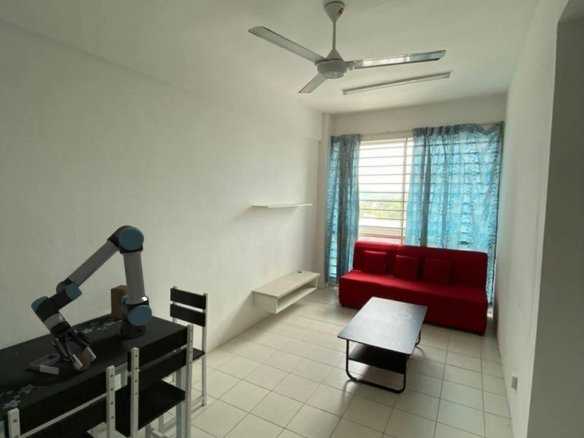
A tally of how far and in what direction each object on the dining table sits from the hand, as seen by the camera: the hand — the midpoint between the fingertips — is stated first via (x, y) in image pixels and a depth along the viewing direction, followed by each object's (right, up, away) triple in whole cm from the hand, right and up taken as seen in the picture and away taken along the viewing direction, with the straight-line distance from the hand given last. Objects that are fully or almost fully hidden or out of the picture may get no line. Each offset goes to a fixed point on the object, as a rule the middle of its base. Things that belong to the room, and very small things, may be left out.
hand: (87, 363), depth 147 cm
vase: (-3, -4, +1) cm, 5 cm away
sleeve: (-15, -3, +4) cm, 16 cm away
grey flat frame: (-24, -3, +6) cm, 25 cm away
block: (-19, +1, +67) cm, 70 cm away
